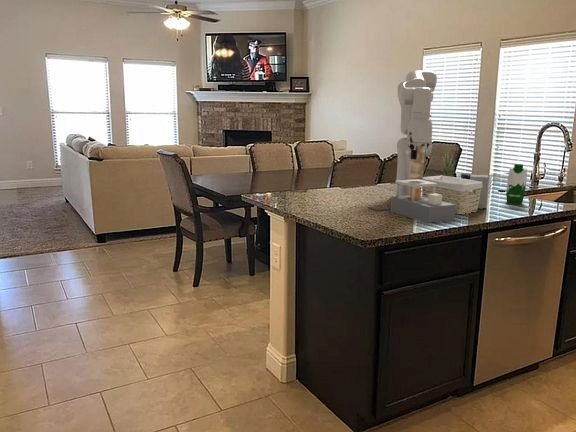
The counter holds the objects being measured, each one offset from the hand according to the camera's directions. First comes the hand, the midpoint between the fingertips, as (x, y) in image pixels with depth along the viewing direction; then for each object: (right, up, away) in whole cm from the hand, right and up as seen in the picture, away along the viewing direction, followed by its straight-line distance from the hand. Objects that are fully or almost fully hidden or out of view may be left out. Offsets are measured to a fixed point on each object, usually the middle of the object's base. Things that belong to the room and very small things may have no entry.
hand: (417, 158), depth 224 cm
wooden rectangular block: (0, -8, +2) cm, 8 cm away
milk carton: (+59, -19, +36) cm, 72 cm away
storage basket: (+19, -23, +16) cm, 34 cm away
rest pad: (-15, -22, +14) cm, 30 cm away
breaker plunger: (0, -20, +5) cm, 21 cm away
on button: (+5, -23, -7) cm, 25 cm away
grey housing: (+2, -25, +1) cm, 25 cm away
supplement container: (+42, -14, +55) cm, 71 cm away
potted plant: (+36, -10, +77) cm, 85 cm away
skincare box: (+34, -21, +23) cm, 47 cm away
